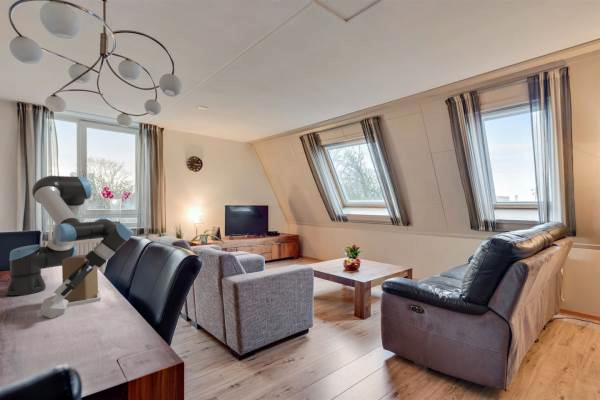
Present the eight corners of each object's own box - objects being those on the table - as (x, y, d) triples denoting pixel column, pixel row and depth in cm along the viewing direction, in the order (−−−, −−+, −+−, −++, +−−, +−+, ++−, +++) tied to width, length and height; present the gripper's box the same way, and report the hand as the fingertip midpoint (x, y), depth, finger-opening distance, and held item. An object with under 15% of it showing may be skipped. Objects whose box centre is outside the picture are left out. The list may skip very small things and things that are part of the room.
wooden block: (76, 297, 142) (75, 254, 143) (99, 295, 143) (97, 253, 143) (62, 304, 133) (60, 258, 133) (86, 303, 133) (84, 257, 133)
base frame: (62, 300, 140) (62, 296, 140) (99, 293, 148) (99, 290, 148) (60, 308, 128) (60, 304, 128) (100, 300, 136) (100, 297, 136)
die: (71, 317, 119) (74, 293, 125) (49, 313, 112) (54, 288, 117) (53, 324, 120) (58, 300, 125) (31, 320, 113) (37, 296, 118)
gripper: (91, 246, 137) (49, 286, 128) (93, 253, 117) (43, 300, 108) (105, 256, 140) (65, 295, 131) (109, 264, 120) (62, 311, 111)
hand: (55, 298), depth 119 cm, fingers open, 13 cm apart
